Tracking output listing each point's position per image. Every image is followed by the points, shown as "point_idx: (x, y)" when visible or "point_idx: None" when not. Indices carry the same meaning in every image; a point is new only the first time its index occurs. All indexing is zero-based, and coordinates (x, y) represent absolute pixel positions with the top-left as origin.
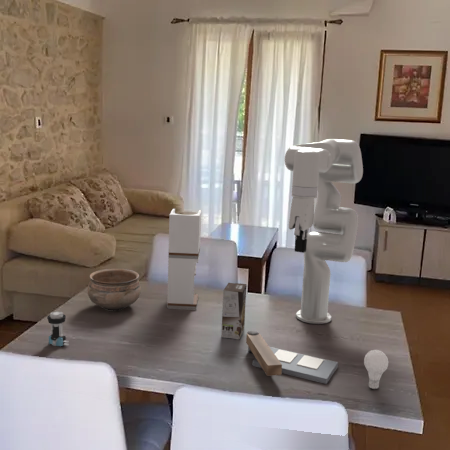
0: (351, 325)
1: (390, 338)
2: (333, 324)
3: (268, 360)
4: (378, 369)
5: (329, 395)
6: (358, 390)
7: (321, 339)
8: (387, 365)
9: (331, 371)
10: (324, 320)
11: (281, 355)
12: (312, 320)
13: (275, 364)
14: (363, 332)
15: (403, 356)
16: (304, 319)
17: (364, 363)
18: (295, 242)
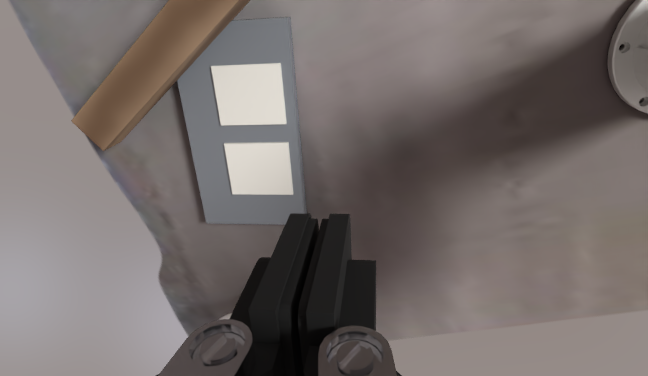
0: (645, 186)
1: (567, 295)
2: (633, 131)
3: (96, 110)
4: None
5: (171, 233)
6: (229, 274)
7: (469, 135)
8: None
9: (247, 223)
10: (636, 103)
11: (245, 87)
12: (619, 63)
13: (90, 136)
14: (589, 229)
15: (453, 329)
16: (621, 29)
17: (221, 318)
18: (268, 274)
